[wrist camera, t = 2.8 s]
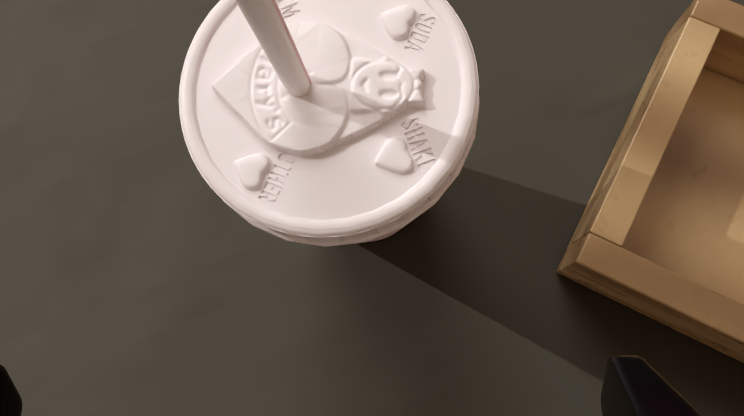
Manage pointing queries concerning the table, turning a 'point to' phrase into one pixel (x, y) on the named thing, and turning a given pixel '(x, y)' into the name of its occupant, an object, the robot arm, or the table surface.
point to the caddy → (677, 189)
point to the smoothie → (330, 112)
